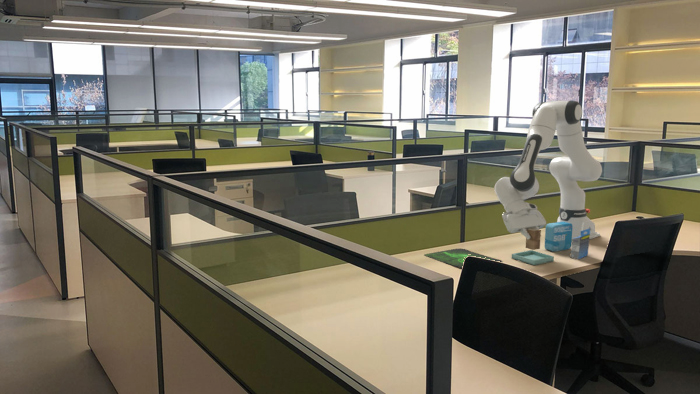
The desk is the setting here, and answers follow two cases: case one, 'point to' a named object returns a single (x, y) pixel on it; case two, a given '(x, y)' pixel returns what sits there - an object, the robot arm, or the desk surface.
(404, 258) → the desk surface
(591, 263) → the desk surface
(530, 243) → the walnut block
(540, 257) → the teal tray
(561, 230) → the blue soap box
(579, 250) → the label tape box
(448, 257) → the mouse mat
